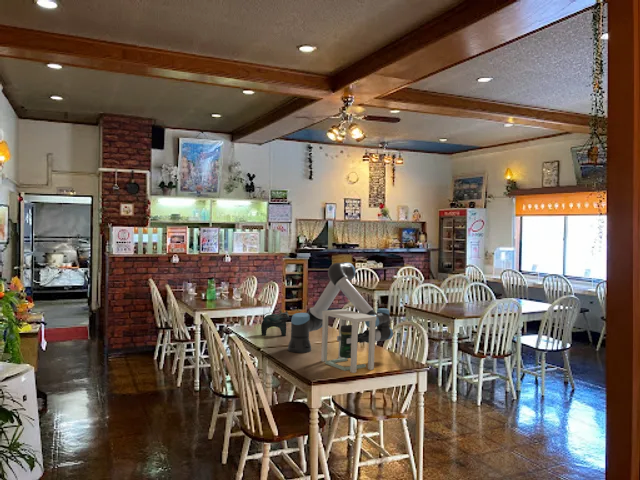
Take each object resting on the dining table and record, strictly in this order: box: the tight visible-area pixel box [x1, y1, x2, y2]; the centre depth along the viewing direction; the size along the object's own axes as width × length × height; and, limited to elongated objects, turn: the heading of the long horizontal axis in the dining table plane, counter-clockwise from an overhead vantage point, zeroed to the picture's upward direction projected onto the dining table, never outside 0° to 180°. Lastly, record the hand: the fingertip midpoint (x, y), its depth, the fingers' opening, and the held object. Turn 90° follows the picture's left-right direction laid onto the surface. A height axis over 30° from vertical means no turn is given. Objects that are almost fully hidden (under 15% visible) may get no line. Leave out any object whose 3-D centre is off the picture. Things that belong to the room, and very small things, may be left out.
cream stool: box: [320, 308, 376, 374], centre depth 298 cm, size 17×30×30 cm, turn 37°
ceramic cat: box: [260, 307, 290, 337], centre depth 374 cm, size 20×6×20 cm, turn 92°
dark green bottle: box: [340, 324, 352, 359], centre depth 298 cm, size 10×8×19 cm
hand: (342, 339), depth 295 cm, fingers closed on dark green bottle, 8 cm apart
